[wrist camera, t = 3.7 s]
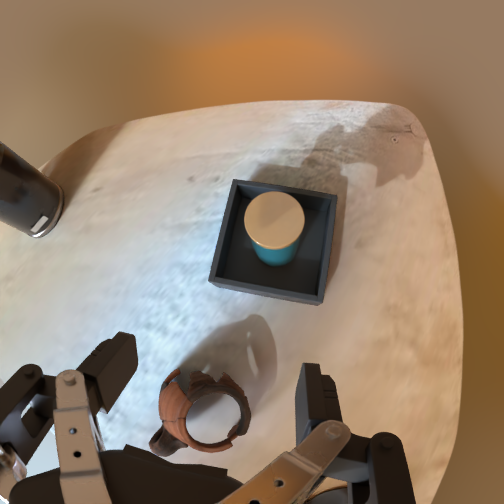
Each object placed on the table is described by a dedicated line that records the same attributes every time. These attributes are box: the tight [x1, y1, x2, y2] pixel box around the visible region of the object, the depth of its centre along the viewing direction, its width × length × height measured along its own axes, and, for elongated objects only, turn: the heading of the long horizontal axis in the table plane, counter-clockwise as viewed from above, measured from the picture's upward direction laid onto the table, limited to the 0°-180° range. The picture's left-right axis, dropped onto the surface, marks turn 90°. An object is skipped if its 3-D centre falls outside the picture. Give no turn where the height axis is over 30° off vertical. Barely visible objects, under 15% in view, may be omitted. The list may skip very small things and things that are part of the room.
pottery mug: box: [149, 369, 251, 457], centre depth 26 cm, size 12×10×8 cm
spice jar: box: [244, 191, 305, 267], centre depth 28 cm, size 5×5×8 cm
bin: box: [208, 179, 337, 306], centre depth 31 cm, size 11×11×4 cm
